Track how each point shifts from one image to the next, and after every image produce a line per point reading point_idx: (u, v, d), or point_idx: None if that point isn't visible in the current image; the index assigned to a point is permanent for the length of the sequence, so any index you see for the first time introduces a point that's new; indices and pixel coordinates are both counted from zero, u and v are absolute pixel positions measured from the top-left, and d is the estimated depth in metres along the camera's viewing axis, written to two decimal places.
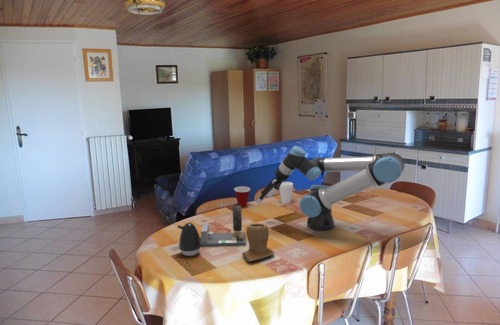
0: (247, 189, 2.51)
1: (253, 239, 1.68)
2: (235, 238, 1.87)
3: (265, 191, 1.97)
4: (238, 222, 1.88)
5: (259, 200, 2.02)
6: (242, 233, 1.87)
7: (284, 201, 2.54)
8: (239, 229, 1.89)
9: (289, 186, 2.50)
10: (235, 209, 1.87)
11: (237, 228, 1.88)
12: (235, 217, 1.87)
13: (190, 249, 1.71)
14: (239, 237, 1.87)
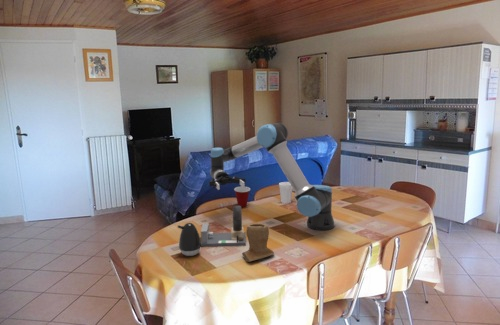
0: (247, 189, 2.51)
1: (253, 239, 1.68)
2: (235, 238, 1.87)
3: None
4: (238, 222, 1.88)
5: (217, 186, 1.96)
6: (242, 233, 1.87)
7: (284, 201, 2.54)
8: (239, 229, 1.89)
9: (289, 186, 2.50)
10: (235, 209, 1.87)
11: (237, 228, 1.88)
12: (235, 217, 1.87)
13: (190, 249, 1.71)
14: (239, 237, 1.87)
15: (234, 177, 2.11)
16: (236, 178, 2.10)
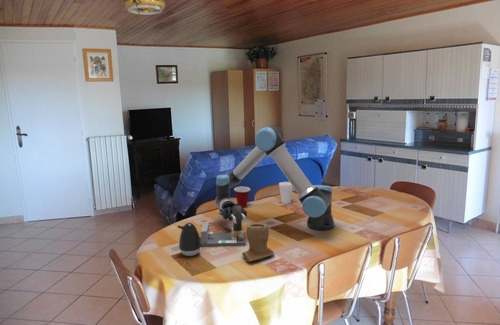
0: (247, 189, 2.51)
1: (253, 239, 1.68)
2: (235, 238, 1.87)
3: (223, 215, 1.91)
4: (238, 222, 1.88)
5: (233, 219, 1.85)
6: (242, 233, 1.87)
7: (284, 201, 2.54)
8: (239, 229, 1.89)
9: (289, 186, 2.50)
10: (235, 209, 1.87)
11: (237, 228, 1.88)
12: (235, 217, 1.87)
13: (190, 249, 1.71)
14: (239, 237, 1.87)
15: None
16: (241, 209, 1.98)
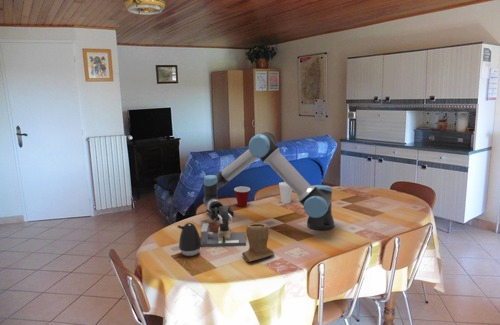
0: (247, 189, 2.51)
1: (253, 239, 1.68)
2: (222, 238, 1.87)
3: (210, 215, 1.91)
4: (225, 222, 1.88)
5: (219, 220, 1.85)
6: (229, 233, 1.87)
7: (284, 201, 2.54)
8: (226, 229, 1.89)
9: None
10: (221, 209, 1.86)
11: (224, 229, 1.88)
12: None
13: (190, 249, 1.71)
14: (226, 237, 1.87)
15: (228, 208, 2.00)
16: (228, 210, 1.98)
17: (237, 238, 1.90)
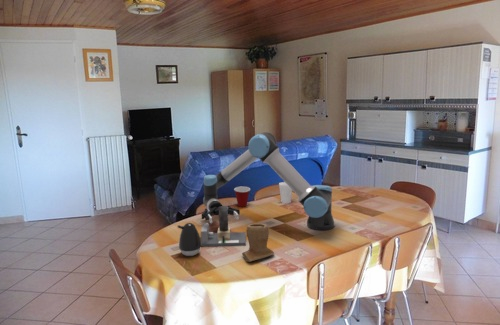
0: (247, 189, 2.51)
1: (253, 239, 1.68)
2: (221, 238, 1.87)
3: None
4: (225, 222, 1.88)
5: (209, 219, 1.86)
6: (228, 233, 1.87)
7: (284, 201, 2.54)
8: (225, 229, 1.89)
9: None
10: (221, 209, 1.86)
11: (224, 229, 1.88)
12: (221, 218, 1.87)
13: (190, 249, 1.71)
14: (225, 237, 1.87)
15: (228, 207, 2.02)
16: (230, 208, 2.00)
17: (237, 238, 1.90)
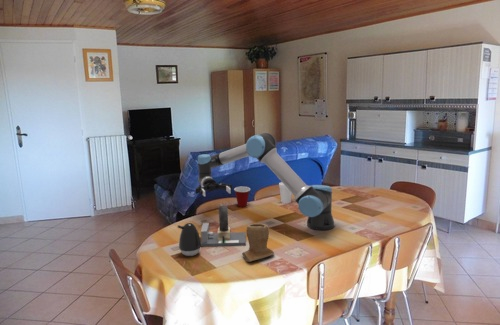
0: (247, 189, 2.51)
1: (253, 239, 1.68)
2: (221, 238, 1.87)
3: None
4: (225, 222, 1.88)
5: (203, 193, 1.96)
6: (228, 233, 1.87)
7: (284, 201, 2.54)
8: (225, 229, 1.89)
9: None
10: (221, 209, 1.86)
11: (224, 229, 1.88)
12: (221, 218, 1.87)
13: (190, 249, 1.71)
14: (225, 237, 1.87)
15: (221, 183, 2.12)
16: (223, 184, 2.10)
17: (237, 238, 1.90)
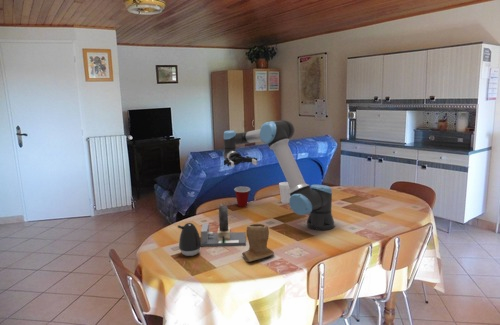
0: (247, 189, 2.51)
1: (253, 239, 1.68)
2: (221, 238, 1.87)
3: None
4: (225, 222, 1.88)
5: (231, 164, 2.09)
6: (228, 233, 1.87)
7: (284, 201, 2.54)
8: (225, 229, 1.89)
9: None
10: (221, 209, 1.86)
11: (224, 229, 1.88)
12: (221, 218, 1.87)
13: (190, 249, 1.71)
14: (225, 237, 1.87)
15: (246, 157, 2.25)
16: (248, 158, 2.23)
17: (237, 238, 1.90)
